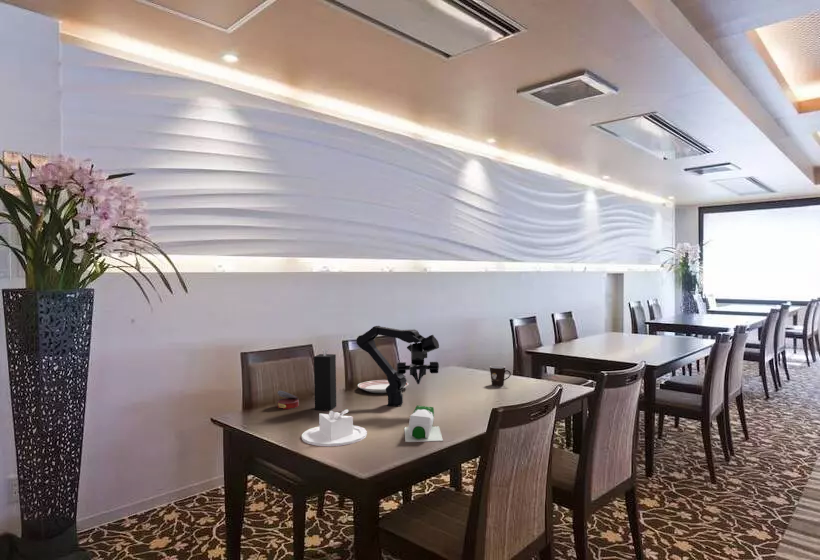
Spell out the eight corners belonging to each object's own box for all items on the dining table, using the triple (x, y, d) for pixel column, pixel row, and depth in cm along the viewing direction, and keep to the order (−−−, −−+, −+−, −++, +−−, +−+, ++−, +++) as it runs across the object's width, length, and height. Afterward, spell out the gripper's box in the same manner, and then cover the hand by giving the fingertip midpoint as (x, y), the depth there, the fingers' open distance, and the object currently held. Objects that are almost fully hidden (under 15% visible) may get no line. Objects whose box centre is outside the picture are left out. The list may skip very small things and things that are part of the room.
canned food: (277, 416, 253) (273, 396, 257) (298, 411, 258) (293, 391, 261) (281, 410, 244) (276, 389, 248) (302, 405, 249) (297, 384, 252)
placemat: (404, 427, 215) (404, 427, 215) (438, 427, 216) (438, 426, 216) (405, 442, 197) (405, 441, 197) (443, 441, 198) (442, 440, 198)
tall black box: (330, 410, 243) (329, 349, 243) (314, 410, 245) (313, 349, 245) (336, 406, 251) (335, 347, 251) (320, 406, 253) (319, 347, 252)
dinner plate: (352, 387, 295) (352, 381, 295) (398, 382, 305) (398, 377, 305) (365, 397, 269) (365, 391, 269) (416, 392, 279) (416, 386, 279)
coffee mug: (486, 384, 296) (486, 366, 296) (499, 382, 300) (499, 365, 300) (498, 388, 286) (498, 369, 286) (512, 386, 289) (511, 368, 289)
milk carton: (413, 424, 219) (406, 438, 199) (414, 402, 219) (408, 414, 199) (434, 427, 217) (429, 441, 198) (436, 404, 217) (431, 417, 198)
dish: (379, 435, 207) (379, 406, 207) (330, 451, 189) (329, 420, 189) (338, 423, 224) (338, 397, 224) (288, 438, 205) (288, 408, 205)
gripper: (396, 344, 241) (396, 373, 230) (438, 343, 241) (440, 372, 230) (397, 359, 249) (397, 387, 238) (437, 358, 249) (439, 387, 238)
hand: (418, 383), depth 236 cm, fingers closed
